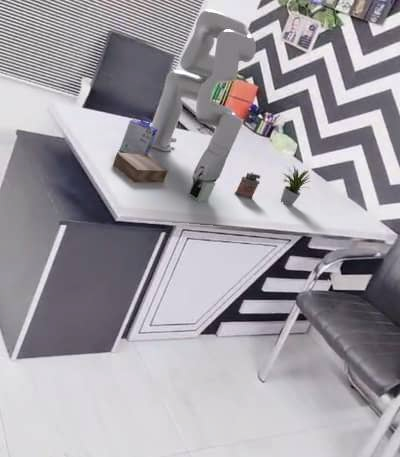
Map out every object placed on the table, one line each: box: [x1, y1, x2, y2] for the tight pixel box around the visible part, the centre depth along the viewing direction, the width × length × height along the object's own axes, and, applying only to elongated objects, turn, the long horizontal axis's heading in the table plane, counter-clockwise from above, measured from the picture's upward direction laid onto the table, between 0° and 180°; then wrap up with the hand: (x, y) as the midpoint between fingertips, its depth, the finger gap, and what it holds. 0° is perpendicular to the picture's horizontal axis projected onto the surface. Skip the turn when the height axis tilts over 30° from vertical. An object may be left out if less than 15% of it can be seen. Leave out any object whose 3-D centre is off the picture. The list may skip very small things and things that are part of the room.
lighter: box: [234, 172, 261, 200], centre depth 203 cm, size 8×3×10 cm, turn 117°
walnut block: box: [112, 152, 169, 184], centre depth 181 cm, size 14×12×5 cm
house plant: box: [280, 166, 312, 207], centre depth 217 cm, size 14×14×16 cm
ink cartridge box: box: [119, 116, 157, 155], centre depth 194 cm, size 10×6×14 cm, turn 78°
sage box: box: [187, 176, 216, 203], centre depth 183 cm, size 6×6×7 cm
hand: (198, 194), depth 184 cm, fingers closed on sage box, 5 cm apart
